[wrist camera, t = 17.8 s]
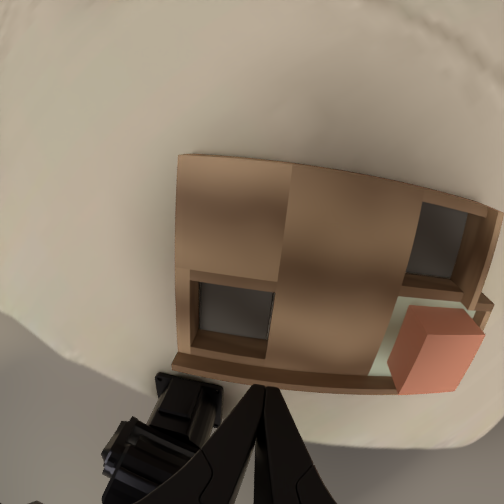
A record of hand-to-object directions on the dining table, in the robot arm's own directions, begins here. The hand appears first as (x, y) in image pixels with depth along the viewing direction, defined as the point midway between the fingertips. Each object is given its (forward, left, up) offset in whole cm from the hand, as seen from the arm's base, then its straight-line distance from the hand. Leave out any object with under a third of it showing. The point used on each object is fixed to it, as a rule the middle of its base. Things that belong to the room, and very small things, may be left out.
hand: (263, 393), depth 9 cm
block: (-3, -12, -10) cm, 15 cm away
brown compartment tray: (0, -4, -12) cm, 13 cm away
